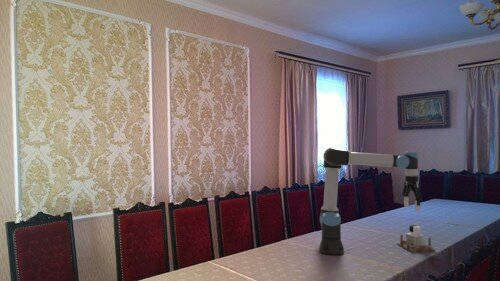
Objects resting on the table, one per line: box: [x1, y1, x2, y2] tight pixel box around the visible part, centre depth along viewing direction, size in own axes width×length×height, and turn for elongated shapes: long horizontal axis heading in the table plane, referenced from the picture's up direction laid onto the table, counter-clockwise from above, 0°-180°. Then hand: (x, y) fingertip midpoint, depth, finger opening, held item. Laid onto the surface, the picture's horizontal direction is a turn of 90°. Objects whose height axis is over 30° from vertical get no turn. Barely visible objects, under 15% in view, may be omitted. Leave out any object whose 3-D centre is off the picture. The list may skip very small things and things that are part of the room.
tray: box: [396, 233, 436, 253], centre depth 219 cm, size 16×16×8 cm
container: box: [405, 224, 426, 247], centre depth 220 cm, size 8×8×13 cm
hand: (412, 208), depth 221 cm, fingers open, 13 cm apart
